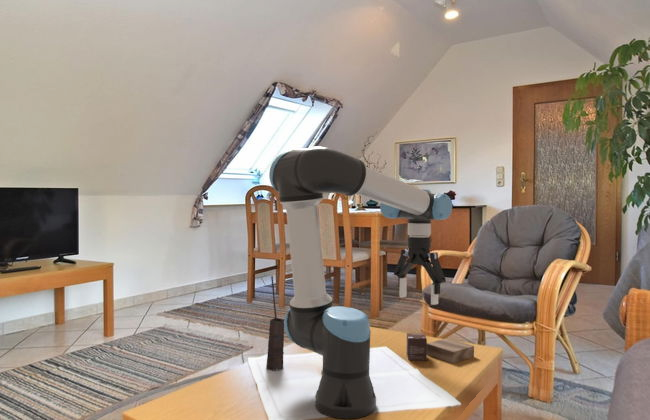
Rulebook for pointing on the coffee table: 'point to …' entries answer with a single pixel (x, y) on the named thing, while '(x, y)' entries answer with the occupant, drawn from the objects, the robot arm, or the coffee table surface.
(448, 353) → the walnut block
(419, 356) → the box
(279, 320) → the butter churn
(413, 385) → the coffee table surface
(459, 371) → the coffee table surface
